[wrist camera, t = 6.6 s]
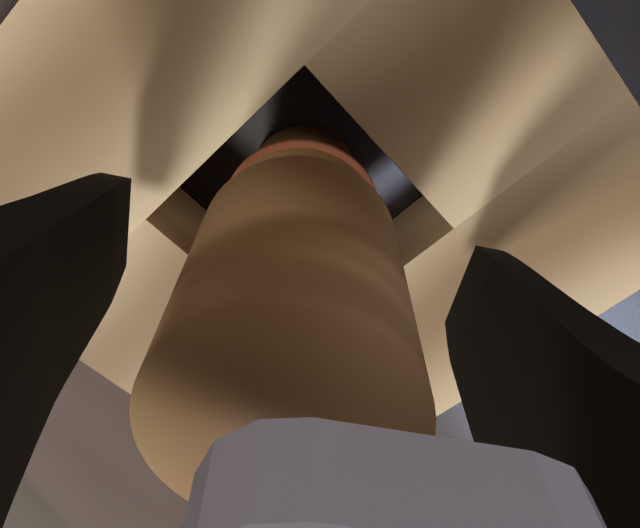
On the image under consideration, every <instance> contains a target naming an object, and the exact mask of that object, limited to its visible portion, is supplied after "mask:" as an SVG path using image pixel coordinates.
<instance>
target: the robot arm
mask: <svg viewBox="0 0 640 528" xmlns="http://www.w3.org/2000/svg"><path fill="white" fill-rule="evenodd" d="M131 179H132V178H127V177H121V176H116V175H111V174H106V173H101V172H100V173H95V174H91V175H88V176H84V177H82V178H79V179H76V180H73V181H70V182H68V183H65V184H62V185H60V186H57V187H54V188H51V189H49V190H46V191H43V192H40V193H38V194H35V195H32V196H29V197H26V198H23V199H20V200H16V201H13V202H10V203H7V204H4V205H0V528H2V527H3V525H4V522H5V519H6V517H7V514H8V512H9V509H10V507H11V504H12V502H13V499H14V496H15V494H16V492H17V489H18V487H19V484H20V482H21V479H22V477H23V475H24V472H25V470H26V467H27V465H28V463H29V460H30V458H31V455H32V453H33V451H34V448H35V446H36V444H37V441H38V439H39V437H40V434H41V432H42V430H43V428H44V425H45V423H46V421H47V419H48V416H49V414H50V412H51V409H52V407H53V405H54V403H55V401H56V399H57V397H58V395H59V393H60V391H61V389H62V388H63V386H64V384H65V382H66V380H67V379H68V377H69V375H70V374H71V372H72V370H73V369H74V367H75V365H76V363H77V362H78V360H79V358H80V357H81V355H82V353H83V352H84V350H85V348H86V347H87V345H88V343H89V341H90V340H91V338H92V336H93V335H94V333H95V331H96V330H97V328H98V326H99V324H100V323H101V321H102V319H103V318H104V316H105V314H106V312H107V311H108V309H109V307H110V305H111V303H112V301H113V299H114V296H115V294H116V291H117V289H118V286H119V284H120V281H121V278H122V276H123V273H124V271H125V268H126V263H127V246H128V229H129V212H130V195H131ZM445 329H446V338H447V346H448V352H449V359H450V363H451V367H452V371H453V374H454V377H455V381H456V384H457V388H458V391H459V394H460V398H461V401H462V404H463V407H464V411H465V414H466V417H467V420H468V424H469V427H470V430H471V433H472V437H473V440H474V442H472V441H465V440H458V439H452V438H445V437H439V436H432V435H426V434H419V433H413V432H406V431H400V430H393V429H387V428H380V427H374V426H367V425H361V424H354V423H347V422H341V421H334V420H328V419H321V418H315V417H300V418H275V419H258V420H256V421H254V422H252V423H250V424H248V425H246V426H244V427H242V428H239V429H237V430H235V431H233V432H231V433H229V434H227V435H225V436H223V437H221V438H219V439H217V440H215V441H214V442H213V443H212V445H211V447H210V448H209V450H208V452H207V454H206V455H205V457H204V459H203V460H202V462H201V464H200V465H199V467H198V469H197V470H196V472H195V474H194V478H193V483H192V487H191V492H190V496H189V501H188V506H187V510H186V515H185V520H184V523H183V525H182V526H181V528H640V343H639V342H637V341H635V340H633V339H632V338H630V337H628V336H627V335H625V334H624V333H622V332H620V331H619V330H617V329H616V328H614V327H613V326H611V325H610V324H608V323H607V322H605V321H604V320H602V319H601V318H599V317H598V316H596V315H595V314H593V313H592V312H590V311H589V310H587V309H586V308H585V307H583V306H582V305H580V304H579V303H578V302H576V301H575V300H573V299H572V298H571V297H569V296H568V295H567V294H565V293H564V292H563V291H561V290H560V289H559V288H557V287H556V286H555V285H553V284H552V283H551V282H549V281H548V280H546V279H545V278H544V277H542V276H541V275H540V274H538V273H537V272H536V271H534V270H533V269H532V268H530V267H529V266H527V265H526V264H525V263H523V262H522V261H520V260H519V259H517V258H516V257H514V256H512V255H511V254H509V253H507V252H505V251H503V250H498V249H492V248H487V247H482V246H477V245H476V246H475V248H474V251H473V253H472V256H471V258H470V261H469V263H468V266H467V268H466V271H465V273H464V276H463V278H462V281H461V283H460V286H459V288H458V291H457V293H456V296H455V298H454V301H453V303H452V305H451V308H450V310H449V313H448V315H447V318H446V320H445Z"/></svg>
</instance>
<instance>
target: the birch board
mask: <svg viewBox="0 0 640 528" xmlns="http://www.w3.org/2000/svg"><path fill="white" fill-rule="evenodd" d="M304 65H305V66H306V67H307V68H308V69H309V70H310V71H311V73H312V74H313V75H314V76H315V77H316V78H317V79H318V80H319V81H320V82H321V84H322V85H323V86H324V87H325V88H326V89H327V90H328V91H329V92H330V93H331V95H332V96H333V97H334V98H335V99H336V100H337V101H338V102H339V103H340V104H341V105H342V107H343V108H344V109H345V110H346V111H347V112H348V113H349V114H350V115H351V116H352V118H353V119H354V120H355V121H356V122H357V123H358V124H359V125H360V126H361V127H362V128H363V130H364V131H365V132H366V133H367V134H368V135H369V136H370V137H371V138H372V139H373V141H374V142H375V143H376V144H377V145H378V146H379V147H380V148H381V149H382V150H383V152H384V153H385V154H386V155H387V156H388V157H389V158H390V159H391V160H392V161H393V162H394V164H395V165H396V166H397V167H398V168H399V169H400V170H401V171H402V172H403V173H404V175H405V176H406V177H407V178H408V179H409V180H410V181H411V182H412V183H413V184H414V185H415V187H416V188H417V189H418V190H419V191H420V192H421V193H422V194H423V196H421V197H420V198H419V199H418V200H416V201H415V202H414V203H413V204H411V205H410V206H409V207H408V208H406V209H405V210H404V211H403V212H401V213H400V214H399V215H398V216H396V217H395V218H394V219H393V220H392V221H393V224H394V228H395V232H396V236H397V241H398V245H399V250H400V254H401V258H402V263H403V267H404V271H405V276H406V280H407V284H408V289H409V293H410V298H411V302H412V306H413V311H414V315H415V319H416V324H417V328H418V332H419V337H420V341H421V346H422V350H423V354H424V359H425V363H426V367H427V372H428V376H429V380H430V385H431V389H432V394H433V398H434V402H435V410H436V417H437V416H438V415H440V414H441V413H443V412H445V411H446V410H448V409H449V408H451V407H453V406H454V405H456V404H457V403H459V402H461V398H460V394H459V391H458V388H457V384H456V381H455V377H454V374H453V371H452V367H451V363H450V359H449V352H448V346H447V338H446V329H445V320H446V318H447V315H448V313H449V310H450V308H451V305H452V303H453V301H454V298H455V296H456V293H457V291H458V288H459V286H460V283H461V281H462V278H463V276H464V273H465V271H466V268H467V266H468V263H469V261H470V258H471V256H472V253H473V251H474V248H475V246H476V245H477V246H482V247H487V248H492V249H498V250H503V251H505V252H507V253H509V254H511V255H512V256H514V257H516V258H517V259H519V260H520V261H522V262H523V263H525V264H526V265H527V266H529V267H530V268H532V269H533V270H534V271H536V272H537V273H538V274H540V275H541V276H542V277H544V278H545V279H546V280H548V281H549V282H551V283H552V284H553V285H555V286H556V287H557V288H559V289H560V290H561V291H563V292H564V293H565V294H567V295H568V296H569V297H571V298H572V299H573V300H575V301H576V302H578V303H579V304H580V305H582V306H583V307H585V308H586V309H587V310H589V311H590V312H592V313H593V314H595V315H596V316H598V315H600V314H601V313H603V312H604V311H606V310H608V309H609V308H611V307H612V306H614V305H616V304H617V303H619V302H620V301H622V300H624V299H625V298H627V297H628V296H630V295H632V294H633V293H635V292H636V291H638V290H640V106H639V105H638V103H637V102H636V100H635V99H634V97H633V95H632V94H631V92H630V91H629V89H628V88H627V86H626V85H625V83H624V82H623V80H622V79H621V77H620V75H619V74H618V72H617V71H616V69H615V68H614V66H613V65H612V63H611V62H610V60H609V59H608V57H607V55H606V54H605V52H604V51H603V49H602V48H601V46H600V45H599V43H598V42H597V40H596V39H595V37H594V35H593V34H592V32H591V31H590V29H589V28H588V26H587V25H586V23H585V22H584V20H583V19H582V17H581V15H580V14H579V12H578V11H577V9H576V8H575V6H574V5H573V3H572V2H571V0H19V1H18V2H17V4H16V5H15V6H14V8H13V9H12V10H11V11H10V13H9V14H8V15H7V17H6V18H5V19H4V21H3V22H2V23H1V25H0V205H4V204H7V203H10V202H13V201H16V200H20V199H23V198H26V197H29V196H32V195H35V194H38V193H40V192H43V191H46V190H49V189H51V188H54V187H57V186H60V185H62V184H65V183H68V182H70V181H73V180H76V179H79V178H82V177H84V176H88V175H91V174H95V173H100V172H101V173H106V174H111V175H116V176H121V177H127V178H132V179H131V195H130V212H129V229H128V246H127V263H126V268H125V271H124V273H123V276H122V278H121V281H120V284H119V286H118V289H117V291H116V294H115V296H114V299H113V301H112V303H111V305H110V307H109V309H108V311H107V312H106V314H105V316H104V318H103V319H102V321H101V323H100V324H99V326H98V328H97V330H96V331H95V333H94V335H93V336H92V338H91V340H90V341H89V343H88V345H87V347H86V348H85V350H84V352H83V353H82V355H81V357H80V358H79V360H81V361H82V362H84V363H85V364H86V365H88V366H89V367H91V368H92V369H94V370H95V371H97V372H98V373H100V374H101V375H103V376H104V377H106V378H107V379H109V380H110V381H112V382H113V383H114V384H116V385H117V386H119V387H120V388H122V389H123V390H125V391H126V392H128V393H129V394H131V392H132V389H133V385H134V381H135V379H136V377H137V374H138V372H139V370H140V367H141V365H142V362H143V360H144V358H145V355H146V353H147V351H148V348H149V346H150V344H151V341H152V339H153V337H154V334H155V332H156V329H157V327H158V325H159V322H160V320H161V318H162V315H163V313H164V311H165V308H166V306H167V303H168V301H169V299H170V296H171V294H172V292H173V289H174V287H175V285H176V282H177V280H178V278H179V275H180V273H181V270H182V268H183V266H184V263H185V261H186V259H187V256H188V254H189V252H190V249H191V247H192V244H193V242H194V240H195V237H196V235H197V233H198V230H199V228H200V226H201V223H202V221H203V219H204V216H205V214H206V212H207V211H206V210H205V209H204V208H203V207H202V206H200V205H199V204H198V203H197V202H196V201H195V200H194V199H193V198H191V197H190V196H189V195H188V194H187V193H186V192H185V191H183V190H182V189H181V188H180V187H179V186H180V185H181V184H182V183H183V182H184V181H186V180H187V179H188V178H189V177H190V176H191V175H192V174H193V173H194V172H195V171H196V170H197V169H198V168H199V167H200V166H201V165H202V164H203V163H204V162H205V161H206V160H207V159H208V158H209V157H210V156H211V155H212V154H213V153H214V152H215V151H216V150H217V149H218V148H219V147H220V146H221V145H222V144H224V143H225V142H226V141H227V140H228V139H229V138H230V137H231V136H232V135H233V134H234V133H235V132H236V131H237V130H238V129H239V128H240V127H241V126H242V125H243V124H244V123H245V122H246V121H247V120H248V119H249V118H250V117H251V116H252V115H253V114H254V113H255V112H256V111H257V110H258V109H259V108H260V107H261V106H263V105H264V104H265V103H266V102H267V101H268V100H269V99H270V98H271V97H272V96H273V95H274V94H275V93H276V92H277V91H278V90H279V89H280V88H281V87H282V86H283V85H284V84H285V83H286V82H287V81H288V80H289V79H290V78H291V77H292V76H293V75H294V74H295V73H296V72H297V71H298V70H299V69H301V68H302V67H303V66H304Z"/></svg>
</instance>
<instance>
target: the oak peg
mask: <svg viewBox="0 0 640 528" xmlns="http://www.w3.org/2000/svg"><path fill="white" fill-rule="evenodd" d="M129 415H130V425H131V429H132V433H133V436H134V440H135V442H136V445H137V447H138V449H139V451H140V453H141V455H142V457H143V458H144V460H145V461H146V463H147V464H148V466H149V467H150V468H151V469H152V471H153V472H154V473H155V474H156V475H157V476H158V477H159V479H160V480H162V481H163V482H164V483H165V484H166V485H167V486H168V487H169V488H171V489H172V490H173V491H174V492H176V493H177V494H179V495H180V496H181V497H183V498H184V499H186V500H188V501H189V496H190V492H191V487H192V483H193V478H194V474H195V472H196V470H197V469H198V467H199V465H200V464H201V462H202V460H203V459H204V457H205V455H206V454H207V452H208V450H209V448H210V447H211V445H212V443H213V442H214V441H215V440H217V439H219V438H221V437H223V436H225V435H227V434H229V433H231V432H233V431H235V430H237V429H239V428H242V427H244V426H246V425H248V424H250V423H252V422H254V421H256V420H258V419H275V418H300V417H315V418H321V419H328V420H334V421H341V422H347V423H354V424H361V425H367V426H374V427H380V428H387V429H393V430H400V431H406V432H413V433H419V434H426V435H432V436H435V430H436V410H435V402H434V398H433V394H432V389H431V385H430V380H429V376H428V372H427V367H426V363H425V359H424V354H423V350H422V346H421V341H420V337H419V332H418V328H417V324H416V319H415V315H414V311H413V306H412V302H411V298H410V293H409V289H408V284H407V280H406V276H405V271H404V267H403V263H402V258H401V254H400V250H399V245H398V241H397V236H396V232H395V228H394V224H393V221H392V217H391V215H390V213H389V211H388V208H387V206H386V205H385V203H384V201H383V200H382V198H381V197H380V195H379V194H378V193H377V191H376V188H375V186H374V184H373V181H372V179H371V178H370V176H369V175H368V173H367V171H366V170H365V169H364V168H363V167H362V165H361V164H360V163H359V162H358V161H357V160H355V159H354V157H353V155H352V153H351V151H350V149H349V148H348V146H347V145H346V144H345V143H344V142H343V141H342V140H341V139H340V138H339V137H337V136H336V135H335V134H333V133H331V132H329V131H327V130H325V129H322V128H320V127H315V126H308V125H300V126H293V127H289V128H285V129H283V130H281V131H279V132H277V133H275V134H274V135H272V136H271V137H270V138H268V139H267V140H266V141H265V142H264V143H263V145H262V146H261V147H260V149H259V150H257V151H256V152H254V153H253V154H251V155H250V156H249V157H248V158H247V159H245V160H244V161H243V162H242V163H241V164H240V166H239V167H238V168H237V169H236V171H235V172H234V174H233V175H232V177H231V179H230V180H229V181H227V182H226V183H225V184H224V185H223V187H222V188H221V189H220V190H219V191H218V192H217V194H216V195H215V197H214V198H213V200H212V201H211V203H210V205H209V207H208V209H207V212H206V214H205V216H204V219H203V221H202V223H201V226H200V228H199V230H198V233H197V235H196V237H195V240H194V242H193V244H192V247H191V249H190V252H189V254H188V256H187V259H186V261H185V263H184V266H183V268H182V270H181V273H180V275H179V278H178V280H177V282H176V285H175V287H174V289H173V292H172V294H171V296H170V299H169V301H168V303H167V306H166V308H165V311H164V313H163V315H162V318H161V320H160V322H159V325H158V327H157V329H156V332H155V334H154V337H153V339H152V341H151V344H150V346H149V348H148V351H147V353H146V355H145V358H144V360H143V362H142V365H141V367H140V370H139V372H138V374H137V377H136V379H135V381H134V385H133V389H132V392H131V396H130V407H129Z"/></svg>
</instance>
